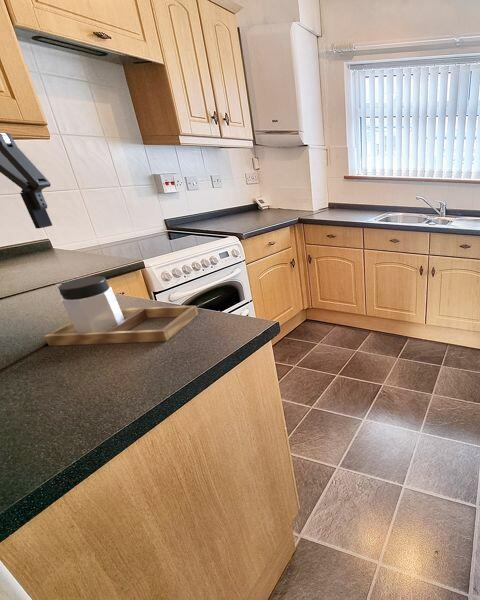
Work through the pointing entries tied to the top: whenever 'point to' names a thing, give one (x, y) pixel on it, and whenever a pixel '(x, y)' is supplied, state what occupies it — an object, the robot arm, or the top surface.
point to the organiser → (127, 327)
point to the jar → (91, 304)
